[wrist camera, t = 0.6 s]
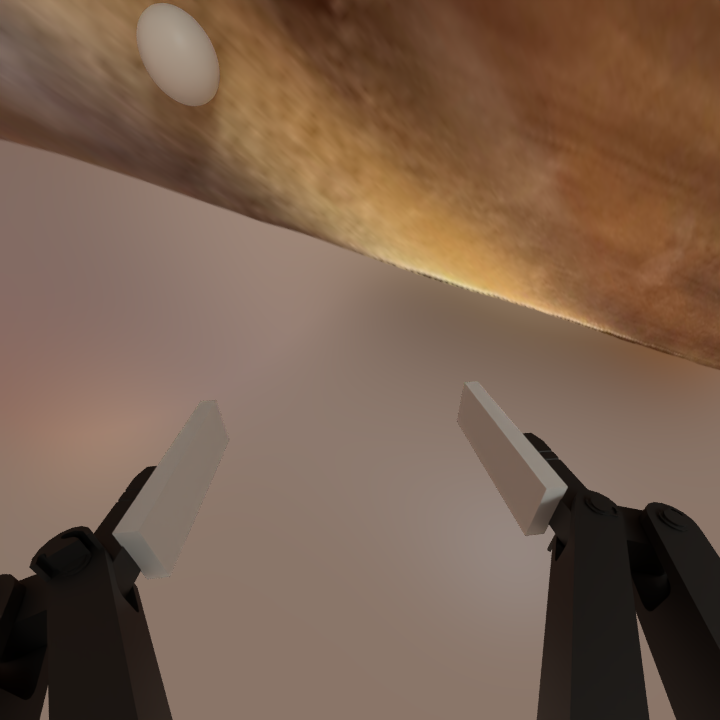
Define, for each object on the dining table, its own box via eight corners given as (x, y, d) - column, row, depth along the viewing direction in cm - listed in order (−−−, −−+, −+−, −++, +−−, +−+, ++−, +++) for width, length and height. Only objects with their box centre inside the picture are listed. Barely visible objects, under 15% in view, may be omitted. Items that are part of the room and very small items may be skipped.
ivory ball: (189, -7, 22) (150, -35, 18) (242, 79, 25) (219, 73, 21) (146, 47, 23) (101, 33, 19) (201, 121, 27) (172, 122, 23)
